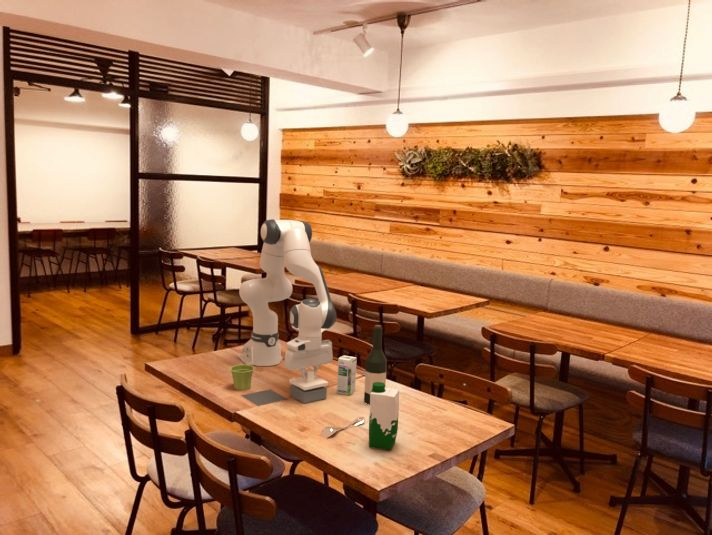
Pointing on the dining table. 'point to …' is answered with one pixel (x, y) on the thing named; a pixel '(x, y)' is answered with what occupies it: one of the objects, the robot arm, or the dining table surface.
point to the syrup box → (346, 375)
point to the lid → (308, 381)
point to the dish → (308, 394)
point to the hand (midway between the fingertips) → (308, 377)
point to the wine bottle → (375, 364)
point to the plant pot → (242, 376)
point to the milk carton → (383, 416)
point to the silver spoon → (331, 430)
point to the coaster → (264, 397)
